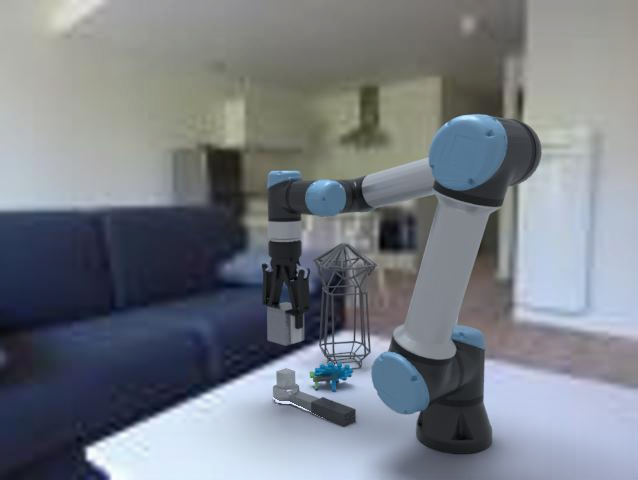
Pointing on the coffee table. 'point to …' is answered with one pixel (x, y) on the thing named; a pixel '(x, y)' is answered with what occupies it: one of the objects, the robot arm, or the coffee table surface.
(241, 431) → the coffee table surface
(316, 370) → the gear
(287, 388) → the ratchet
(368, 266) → the geometric lantern
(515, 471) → the coffee table surface
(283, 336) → the grey rectangular block
